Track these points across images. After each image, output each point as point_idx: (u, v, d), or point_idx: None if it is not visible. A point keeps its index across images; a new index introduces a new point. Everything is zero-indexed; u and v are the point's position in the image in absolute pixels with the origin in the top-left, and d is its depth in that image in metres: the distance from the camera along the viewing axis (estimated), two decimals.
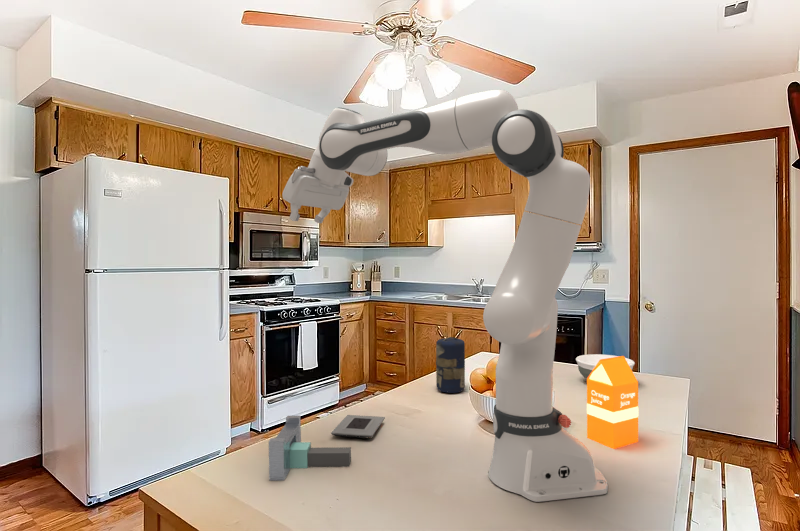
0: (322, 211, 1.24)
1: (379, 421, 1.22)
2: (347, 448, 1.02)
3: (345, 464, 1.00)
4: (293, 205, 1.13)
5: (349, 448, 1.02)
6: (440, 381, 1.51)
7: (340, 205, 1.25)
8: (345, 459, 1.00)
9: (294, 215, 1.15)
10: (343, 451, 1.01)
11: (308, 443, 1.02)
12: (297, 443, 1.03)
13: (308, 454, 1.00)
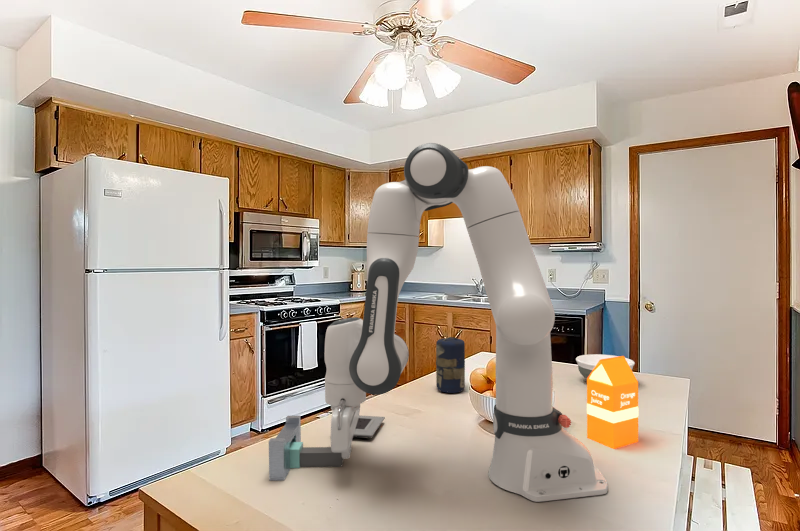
0: None
1: (379, 421, 1.22)
2: None
3: (337, 464, 1.00)
4: None
5: None
6: (440, 381, 1.51)
7: (358, 413, 1.10)
8: (337, 458, 1.00)
9: (347, 452, 1.00)
10: None
11: (300, 443, 1.02)
12: None
13: (300, 454, 1.00)
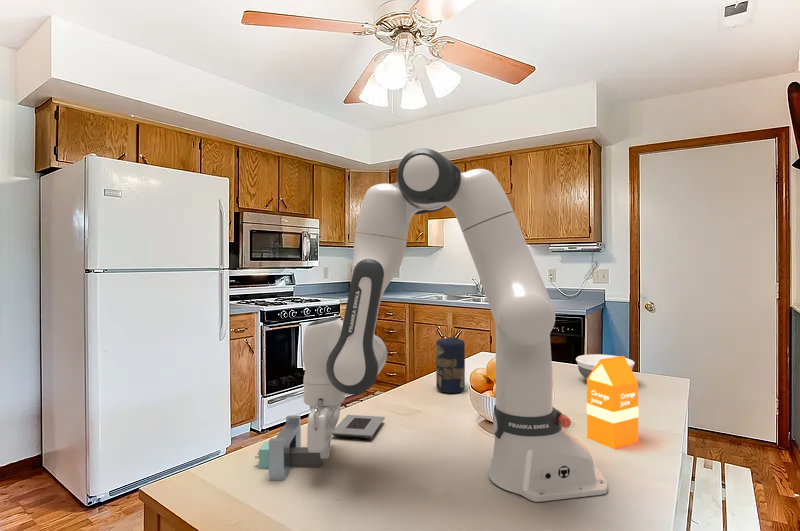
0: None
1: (379, 421, 1.22)
2: None
3: (316, 464, 1.00)
4: None
5: None
6: (440, 381, 1.51)
7: (339, 413, 1.10)
8: (316, 458, 1.00)
9: (325, 452, 1.00)
10: None
11: None
12: (268, 443, 1.03)
13: None
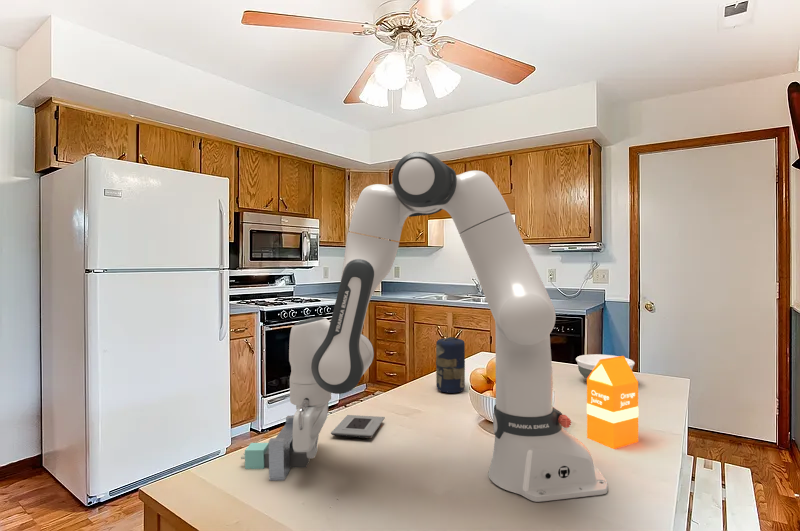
0: None
1: (379, 421, 1.22)
2: None
3: (302, 465, 1.00)
4: None
5: None
6: (440, 381, 1.51)
7: (326, 413, 1.10)
8: (302, 459, 1.00)
9: (312, 451, 1.00)
10: None
11: (266, 444, 1.02)
12: (255, 443, 1.03)
13: (265, 455, 1.00)
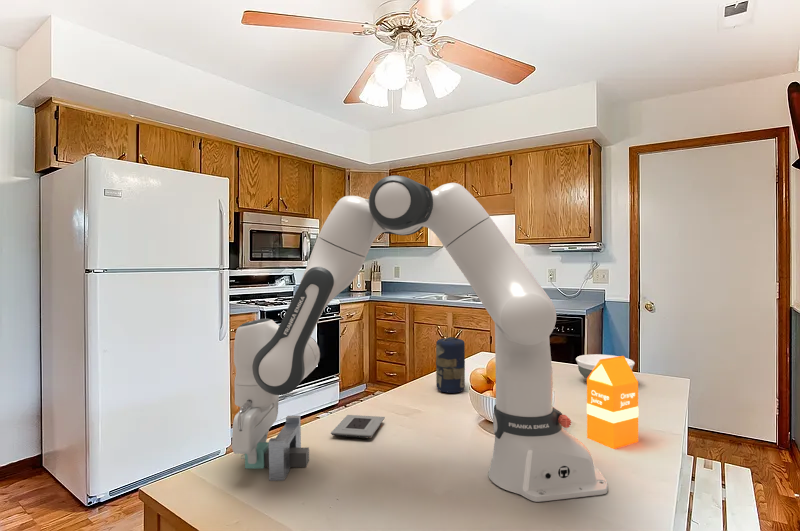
0: None
1: (379, 421, 1.22)
2: (305, 448, 1.02)
3: (302, 464, 1.00)
4: None
5: (307, 448, 1.02)
6: (440, 381, 1.51)
7: (276, 414, 1.10)
8: (302, 459, 1.00)
9: (253, 457, 0.98)
10: (300, 451, 1.01)
11: (266, 443, 1.02)
12: None
13: (265, 454, 1.00)
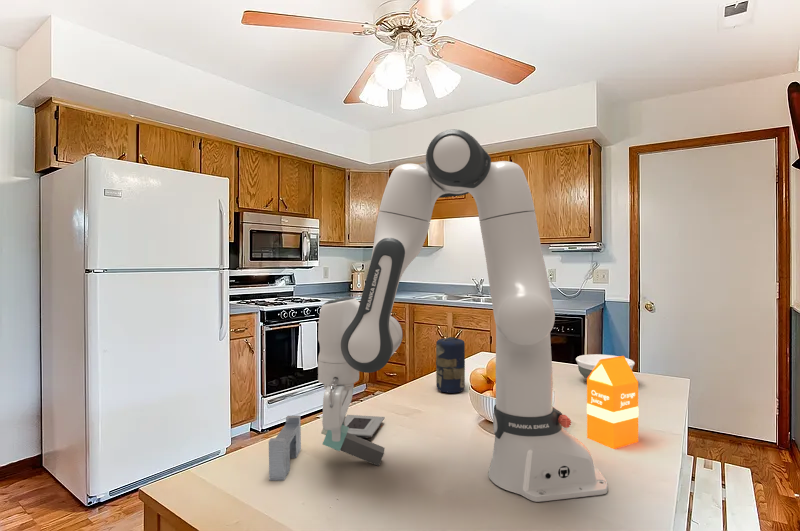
0: None
1: (379, 421, 1.22)
2: (381, 447, 1.02)
3: (375, 462, 1.00)
4: None
5: (383, 448, 1.02)
6: (440, 381, 1.51)
7: (352, 394, 1.10)
8: (378, 457, 1.00)
9: (338, 434, 0.98)
10: (378, 449, 1.01)
11: (347, 427, 1.02)
12: None
13: (345, 439, 1.00)
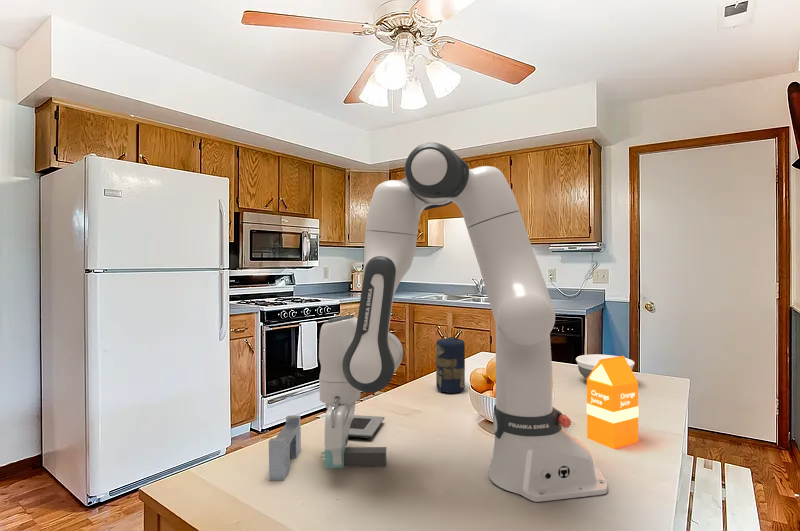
0: None
1: (379, 421, 1.22)
2: (383, 448, 1.02)
3: (381, 464, 0.99)
4: None
5: (385, 448, 1.02)
6: (440, 381, 1.51)
7: (353, 412, 1.10)
8: (382, 458, 0.99)
9: (339, 458, 0.96)
10: (379, 450, 1.00)
11: None
12: None
13: (344, 454, 1.00)
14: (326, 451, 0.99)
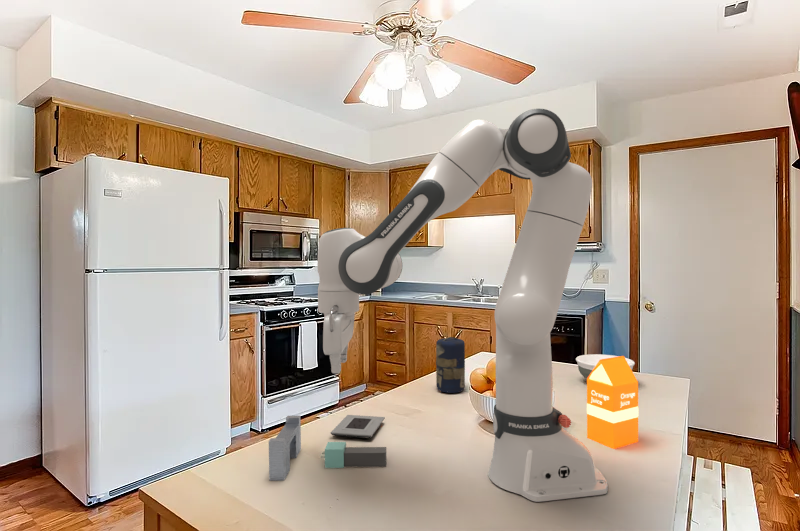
0: None
1: (379, 421, 1.22)
2: (383, 448, 1.02)
3: (381, 464, 0.99)
4: (334, 356, 0.94)
5: (385, 448, 1.02)
6: (440, 381, 1.51)
7: (352, 331, 1.09)
8: (382, 458, 0.99)
9: (337, 366, 0.95)
10: (379, 450, 1.00)
11: (343, 443, 1.02)
12: (332, 443, 1.02)
13: (344, 454, 1.00)
14: (326, 451, 0.99)
